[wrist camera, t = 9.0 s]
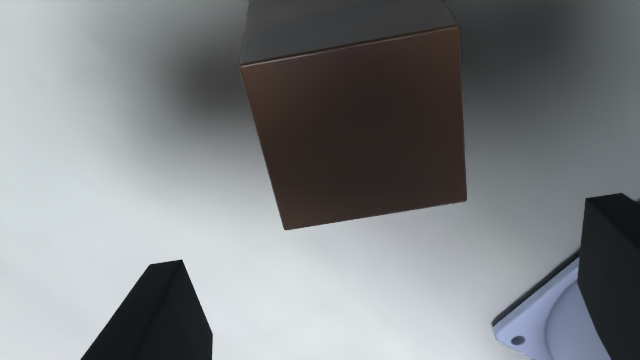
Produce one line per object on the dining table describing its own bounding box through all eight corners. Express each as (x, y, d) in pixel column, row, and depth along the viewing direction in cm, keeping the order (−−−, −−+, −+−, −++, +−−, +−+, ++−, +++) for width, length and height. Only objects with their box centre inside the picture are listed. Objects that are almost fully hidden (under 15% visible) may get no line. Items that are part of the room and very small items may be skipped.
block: (420, -40, 15) (460, 24, 12) (432, 110, 18) (467, 202, 14) (249, -8, 16) (237, 65, 12) (285, 136, 18) (284, 231, 15)
